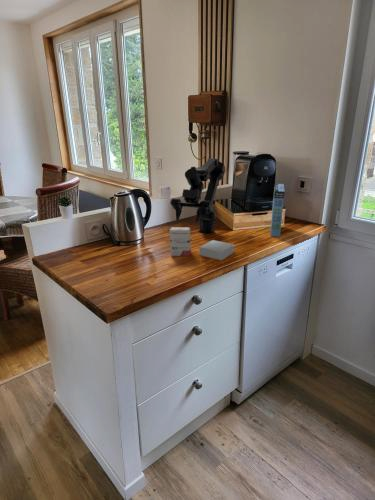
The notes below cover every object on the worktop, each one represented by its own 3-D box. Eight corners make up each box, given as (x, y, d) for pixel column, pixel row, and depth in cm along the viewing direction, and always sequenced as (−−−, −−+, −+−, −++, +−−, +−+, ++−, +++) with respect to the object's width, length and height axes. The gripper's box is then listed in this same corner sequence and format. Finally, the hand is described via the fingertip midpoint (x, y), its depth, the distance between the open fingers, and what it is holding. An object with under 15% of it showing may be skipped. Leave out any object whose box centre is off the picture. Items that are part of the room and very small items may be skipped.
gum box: (270, 225, 186) (274, 183, 178) (280, 225, 185) (284, 183, 177) (270, 236, 168) (273, 190, 160) (280, 237, 167) (284, 191, 159)
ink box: (191, 252, 150) (190, 226, 146) (190, 256, 146) (189, 230, 141) (171, 251, 151) (170, 226, 147) (170, 255, 146) (169, 229, 142)
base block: (199, 255, 147) (199, 247, 146) (212, 248, 156) (212, 240, 154) (221, 261, 141) (221, 252, 140) (233, 253, 150) (234, 244, 148)
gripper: (171, 180, 152) (161, 210, 146) (210, 182, 145) (201, 214, 139) (178, 194, 161) (169, 223, 156) (216, 197, 154) (207, 227, 149)
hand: (186, 221), depth 150 cm, fingers open, 9 cm apart
